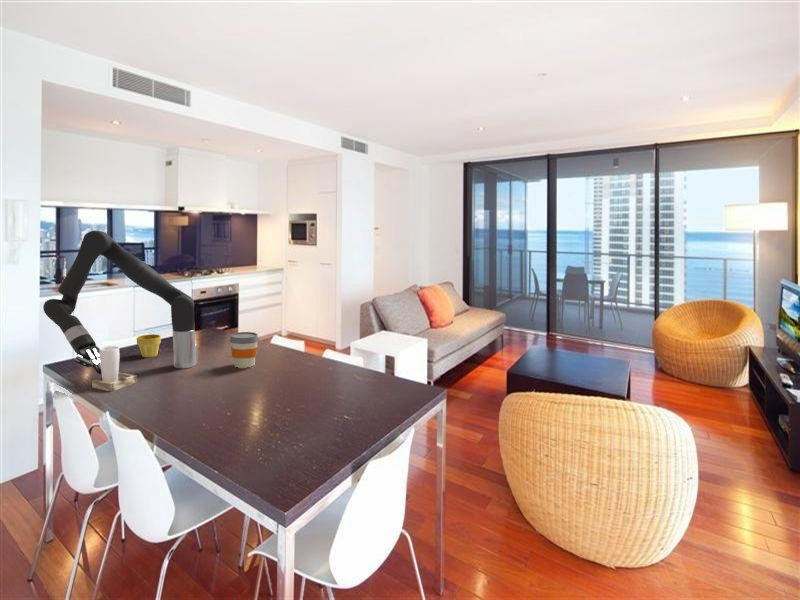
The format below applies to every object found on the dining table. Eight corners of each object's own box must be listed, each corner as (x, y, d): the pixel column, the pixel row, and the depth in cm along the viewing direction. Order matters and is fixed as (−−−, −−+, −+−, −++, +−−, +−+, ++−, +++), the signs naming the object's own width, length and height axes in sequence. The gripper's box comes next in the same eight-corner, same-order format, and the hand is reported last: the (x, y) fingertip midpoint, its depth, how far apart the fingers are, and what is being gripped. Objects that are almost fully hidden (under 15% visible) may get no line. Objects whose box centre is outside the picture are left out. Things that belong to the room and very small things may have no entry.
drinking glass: (114, 387, 172) (112, 351, 170) (96, 386, 172) (95, 350, 169) (124, 381, 179) (122, 346, 177) (107, 380, 178) (105, 345, 176)
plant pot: (144, 359, 208) (143, 340, 207) (133, 355, 214) (132, 336, 212) (165, 355, 217) (164, 336, 215) (154, 351, 222) (153, 333, 221)
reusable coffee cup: (258, 361, 214) (258, 331, 212) (258, 368, 202) (258, 337, 200) (231, 362, 210) (230, 332, 208) (229, 370, 198) (229, 338, 196)
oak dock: (119, 378, 181) (118, 370, 181) (138, 382, 178) (137, 373, 178) (92, 387, 171) (91, 378, 170) (112, 391, 168) (111, 382, 167)
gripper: (67, 336, 170) (90, 371, 168) (100, 330, 182) (122, 363, 180) (58, 348, 172) (81, 382, 170) (91, 341, 185) (113, 373, 183)
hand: (102, 372), depth 175 cm, fingers closed
